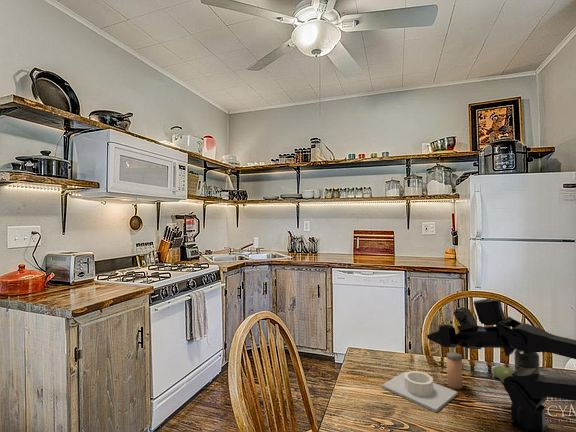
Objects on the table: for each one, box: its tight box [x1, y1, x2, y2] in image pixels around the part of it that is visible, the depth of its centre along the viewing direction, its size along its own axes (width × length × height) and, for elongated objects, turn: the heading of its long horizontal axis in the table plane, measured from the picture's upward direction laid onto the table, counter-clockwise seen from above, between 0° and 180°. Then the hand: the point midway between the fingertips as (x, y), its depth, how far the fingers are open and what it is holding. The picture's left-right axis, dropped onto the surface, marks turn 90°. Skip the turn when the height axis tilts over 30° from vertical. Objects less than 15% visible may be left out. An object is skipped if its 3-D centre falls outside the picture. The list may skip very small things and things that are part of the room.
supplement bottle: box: [514, 349, 541, 375], centre depth 110 cm, size 7×7×12 cm
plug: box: [446, 351, 463, 390], centre depth 106 cm, size 4×4×10 cm
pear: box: [492, 365, 515, 383], centre depth 108 cm, size 6×5×10 cm
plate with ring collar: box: [381, 370, 458, 413], centre depth 103 cm, size 18×14×4 cm
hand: (435, 337), depth 105 cm, fingers open, 9 cm apart
